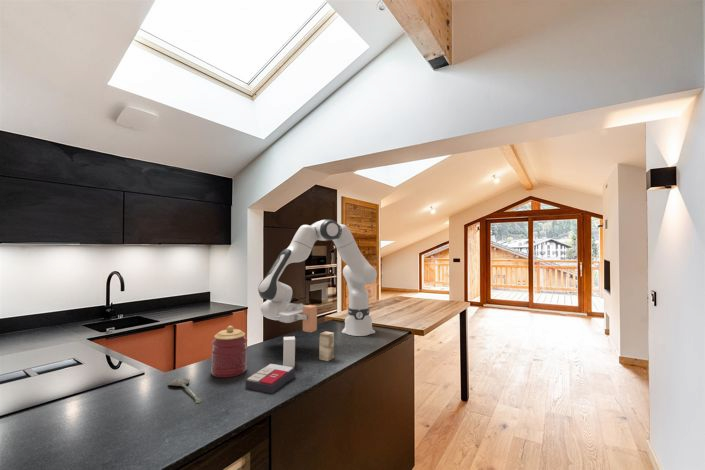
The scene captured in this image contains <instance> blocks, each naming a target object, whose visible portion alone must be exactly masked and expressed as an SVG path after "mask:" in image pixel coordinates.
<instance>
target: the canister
mask: <svg viewBox="0 0 705 470" xmlns="http://www.w3.org/2000/svg"><path fill="white" fill-rule="evenodd" d="M245 336H246V333H245V332H244V331H243V330H241V329H237V328H234V326H233V325H228V326H227V327H226V329H222V330H220V331H218V332H216V334H215V335H214V336H213V337H214V340H212V341H211V345H212V350H211V367H210V371H211V375H212V376H213V377H216V378H220V379H221V378H232V377H233V378H234V377H237V376H241V375H243V374H244V373H245V372H246V371H247V365H248V364H247V352H248V351H247V350H248V347H247V342H248V338H247V337H245Z"/></svg>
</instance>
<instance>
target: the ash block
mask: <svg viewBox="0 0 705 470" xmlns="http://www.w3.org/2000/svg"><path fill="white" fill-rule="evenodd" d="M318 341H319V345H318V347H319V351H318V353H319V356H318V358H319V359H318V360H321V361H326V362H329V361H330V360H333V359H334V355H335V350H334V349H335V332H331V331H323V332H320V333H319V340H318Z"/></svg>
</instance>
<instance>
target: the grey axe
mask: <svg viewBox="0 0 705 470" xmlns="http://www.w3.org/2000/svg"><path fill="white" fill-rule="evenodd" d="M190 381H191V379H189V378H186V377H179V378H176V379H173V380H172V381H170V382H169V383H168V384H167V385H168V386H176V387H178V386H179V387H182V388H184V389H185V390H187V392H189V393H190V394H191V396H193V399H194V400H195V402H194V403H195V404H199V403H201V402H202V400H201V398H199V397H198V396H197V395H196V394H195V393H194V391H192V389H191V388H189V386H187V384H189V382H190Z"/></svg>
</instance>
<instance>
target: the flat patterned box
mask: <svg viewBox="0 0 705 470" xmlns="http://www.w3.org/2000/svg"><path fill="white" fill-rule="evenodd" d="M295 370H296V369H295V367H288V366H283V364H282V365H281V364H275V363H269V364H268V365H266V366H264V367H263V368H262V369H260V370H258V371H256V372H255V373H253V374H251V376H249V377H248V378H246V379H245V389H248V390H254V391H259V392H264V393H268V394H273V393H275V392H276V391H278V390H279V389H280V388H282V387H283V386H285V384H288V382H290V381H292V380H293V379H294V378H295V376H296V373H295Z"/></svg>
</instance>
